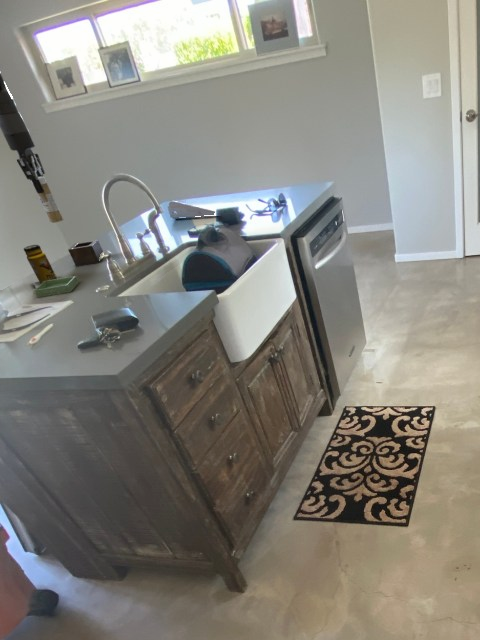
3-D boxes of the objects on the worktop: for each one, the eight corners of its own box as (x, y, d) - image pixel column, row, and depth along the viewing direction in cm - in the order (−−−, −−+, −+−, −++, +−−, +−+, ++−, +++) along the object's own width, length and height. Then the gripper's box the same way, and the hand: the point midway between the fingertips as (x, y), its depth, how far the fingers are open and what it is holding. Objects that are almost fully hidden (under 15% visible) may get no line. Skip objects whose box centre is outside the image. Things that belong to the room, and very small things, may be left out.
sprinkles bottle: (47, 223, 185) (27, 179, 176) (58, 219, 188) (38, 176, 179) (56, 222, 183) (36, 178, 174) (66, 219, 186) (47, 175, 177)
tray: (37, 297, 175) (33, 290, 173) (47, 287, 182) (43, 281, 181) (70, 291, 175) (67, 284, 174) (79, 282, 183) (76, 275, 181)
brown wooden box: (75, 266, 201) (67, 249, 197) (82, 259, 207) (74, 243, 203) (99, 262, 201) (91, 245, 197) (105, 255, 208) (98, 239, 204)
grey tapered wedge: (226, 201, 241) (175, 198, 245) (219, 205, 235) (166, 202, 238) (230, 220, 246) (179, 216, 250) (222, 224, 240) (171, 221, 243)
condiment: (60, 281, 187) (42, 245, 179) (36, 288, 183) (16, 252, 175) (57, 277, 191) (39, 242, 183) (33, 284, 188) (13, 248, 180)
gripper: (11, 130, 173) (39, 189, 184) (-5, 134, 162) (25, 197, 174) (34, 127, 173) (60, 186, 185) (19, 131, 163) (48, 193, 174)
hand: (43, 191), depth 179 cm, fingers closed on sprinkles bottle, 4 cm apart
